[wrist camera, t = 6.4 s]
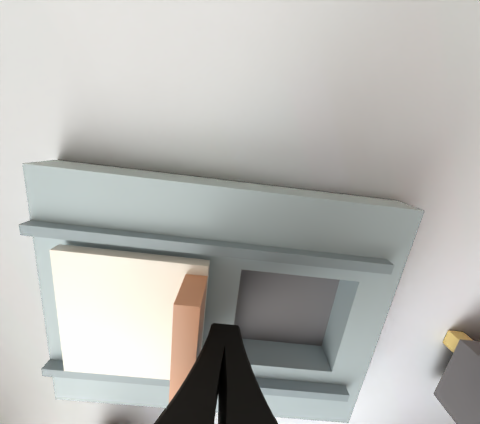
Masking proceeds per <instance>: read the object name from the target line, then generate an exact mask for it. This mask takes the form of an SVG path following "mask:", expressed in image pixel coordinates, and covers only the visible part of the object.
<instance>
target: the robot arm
mask: <svg viewBox="0 0 480 424" xmlns="http://www.w3.org/2000/svg"><path fill="white" fill-rule="evenodd" d="M217 399H218V424H278V423H277V421H276V419H275V417H274V415H273V413H272V412H271V410H270V408H269V406H268V404H267V402H266V400H265V398H264V396H263V393H262V391H261V389H260V387H259V384H258V382H257V380H256V378H255V375H254V373H253V370H252V367H251V365H250V362H249V359H248V357H247V354H246V350H245V347H244V344H243V340H242V336H241V331H240V327H239V326H238V325H230V324H219V323H213V324H211V327H210V331H209V334H208V336H207V339H206V341H205V343H204V346H203V348H202V350H201V352H200V354H199V356H198V358H197V360H196V361H195V363H194V365H193V367H192V368H191V370H190V372H189V374H188V375H187V377H186V379H185V380H184V382H183V383H182V385H181V387H180V388H179V390H178V391H177V393H176V394H175V396H174V397H173V399H172V400H171V401H170V403H169V404H168V406H167V407H166V408H165V410H164V411H163V412H162V414H161V415H160V416H159V418H158V419H157V420H156V422H155V423H154V424H214V417H215V411H216V405H217Z"/></svg>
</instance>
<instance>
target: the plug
mask: <svg viewBox="0 0 480 424" xmlns="http://www.w3.org/2000/svg"><path fill="white" fill-rule="evenodd" d="M443 343H444V344H445V345H446V346H447V347H448V348H449V349H450V350H451V351H452V352H453V355H452V357H451V359H450V361H449V363H448V365H447V367H446V369H445V371H444V373H443V375H442V377H441V379H440V382H439V384H438V386H437V388H436V390H435V392H434V395H435V396H436V398H437V399H438V400H439V402H440V403H441V404H442V405H443V407H444V408H445V409H446V411H447V412H448V413H449V415H450V416H451V417H452V418H453V420H454V421H455V422H456V424H480V341H473V340H472V339H471V338H470V337H469V336H467V335H466V334H465V333H464V332H460V331H450V330H448V332H447V334H446V336H445V339H444V341H443Z"/></svg>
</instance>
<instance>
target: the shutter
mask: <svg viewBox="0 0 480 424" xmlns="http://www.w3.org/2000/svg"><path fill="white" fill-rule="evenodd" d="M49 251H50V259H51V267H52V275H53V284H54V292H55V300H56V308H57V317H58V325H59V333H60V341H61V350H62V358H63V366H64V371H71V372H83V373H94V374H106V375H118V376H129V377H141V378H153V379H164V380H170V388H169V403H170V401H171V400H172V399H173V397H174V396H175V394H176V393H177V391H178V390H179V388H180V387H181V385H182V383H183V382H184V380H185V379H186V377H187V375H188V374H189V372H190V370H191V368H192V367H193V365H194V363H195V361H196V360H197V358H198V356H199V354H200V352H201V350H202V341H203V330H204V320H205V309H206V298H207V288H208V277H209V266H210V260H205V259H196V258H186V257H177V256H167V255H158V254H149V253H139V252H130V251H120V250H111V249H101V248H92V247H82V246H73V245H64V244H59V245H57V246H55V247H53V248H52V249H50V250H49Z"/></svg>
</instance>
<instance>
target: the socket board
mask: <svg viewBox="0 0 480 424" xmlns="http://www.w3.org/2000/svg"><path fill="white" fill-rule="evenodd" d="M22 164H23V171H24V178H25V186H26V193H27V200H28V207H29V214H30V221H27V222H24V223H22V224H19V229H20V235H24V236H33V242H34V249H35V256H36V263H37V270H38V278H39V285H40V292H41V299H42V306H43V313H44V320H45V327H46V334H47V341H48V348H49V355H50V360H49V361H48V362H47V363H46V364H45V366H44V367H43V368H42V376H48V377H53V384H54V391H55V398H56V399H60V400H72V401H84V402H97V403H109V404H121V405H134V406H146V407H158V408H166V407H167V406H168V404H169V388H170V380H164V379H153V378H141V377H129V376H118V375H106V374H94V373H83V372H71V371H64V366H63V358H62V350H61V341H60V333H59V325H58V317H57V308H56V300H55V292H54V284H53V275H52V267H51V259H50V251H49V250H50V249H52V248H53V247H55V246H57V245H59V244H64V245H73V246H82V247H92V248H101V249H111V250H120V251H130V252H139V253H149V254H158V255H167V256H177V257H186V258H196V259H205V260H210V266H209V277H208V288H207V298H206V309H205V320H204V330H203V341H202V348H203V346H204V343H205V341H206V339H207V336H208V334H209V331H210V327H211V324H213V323H219V324H230V325H238V326H239V327H240V331H241V336H242V340H243V344H244V347H245V350H246V354H247V357H248V359H249V362H250V365H251V367H252V370H253V373H254V375H255V378H256V380H257V382H258V384H259V387H260V389H261V391H262V393H263V396H264V398H265V400H266V402H267V404H268V406H269V408H270V410H271V412H272V413H273V415H274V417H281V418H294V419H306V420H318V421H331V422H343V423H349V420H350V417H351V414H352V412H353V409H354V406H355V403H356V400H357V398H358V395H359V392H360V389H361V387H362V384H363V381H364V378H365V375H366V373H367V370H368V367H369V364H370V361H371V359H372V356H373V353H374V350H375V348H376V345H377V342H378V339H379V336H380V334H381V331H382V328H383V325H384V323H385V320H386V317H387V314H388V311H389V309H390V306H391V303H392V300H393V297H394V295H395V292H396V289H397V286H398V284H399V281H400V278H401V275H402V272H403V270H404V267H405V264H406V261H407V258H408V256H409V253H410V250H411V247H412V245H413V242H414V239H415V236H416V233H417V231H418V228H419V225H420V222H421V220H422V217H423V214H424V210H421V209H418V208H416V207H413V206H410V205H408V204H405V203H402V202H400V201H397V200H389V199H381V198H372V197H364V196H355V195H347V194H339V193H330V192H322V191H313V190H305V189H297V188H288V187H280V186H271V185H263V184H255V183H246V182H238V181H230V180H221V179H213V178H204V177H196V176H188V175H179V174H171V173H162V172H154V171H146V170H137V169H129V168H120V167H112V166H104V165H95V164H87V163H79V162H70V161H62V160H51V161H41V162H31V163H22ZM215 412H218V399H217V405H216V411H215Z"/></svg>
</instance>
